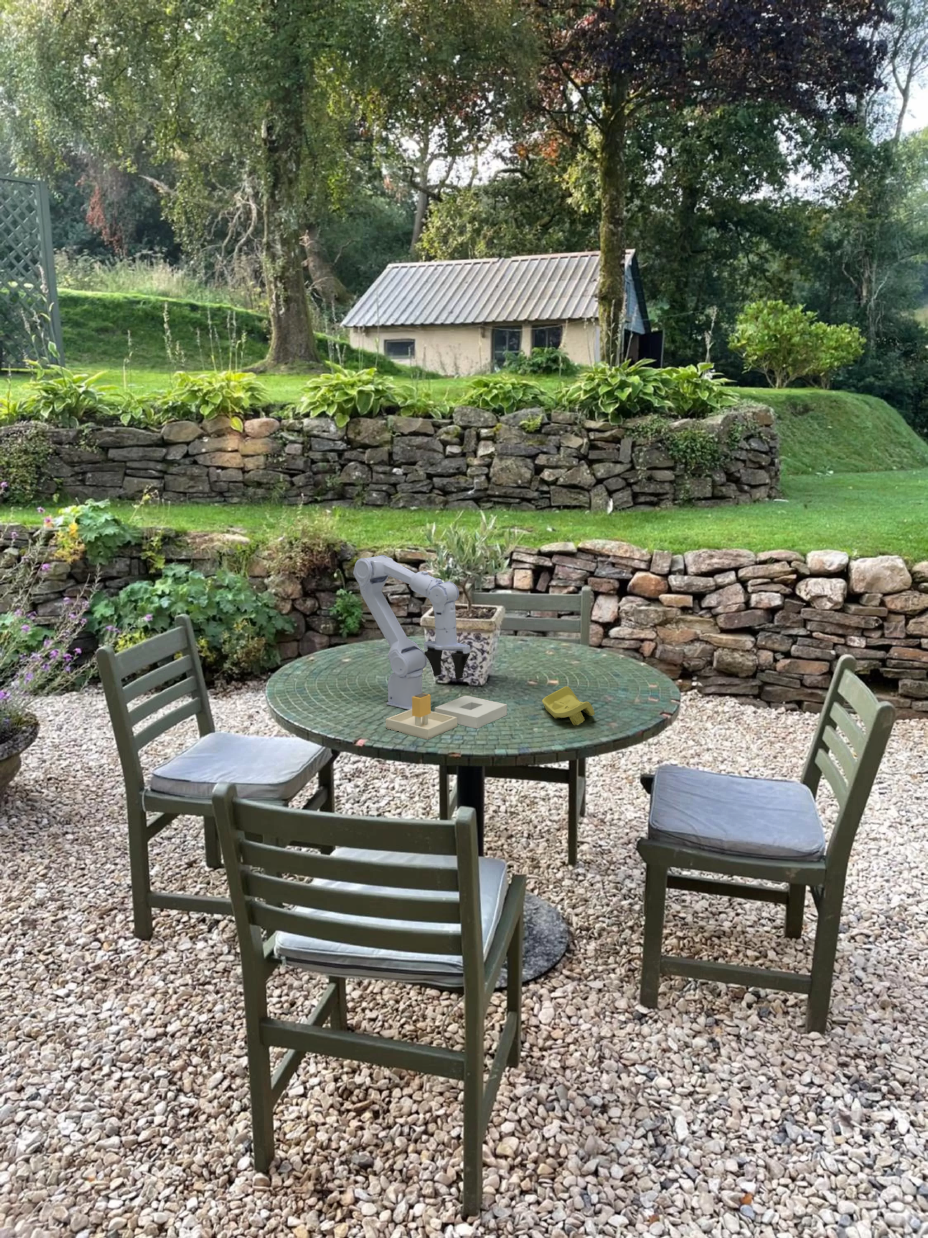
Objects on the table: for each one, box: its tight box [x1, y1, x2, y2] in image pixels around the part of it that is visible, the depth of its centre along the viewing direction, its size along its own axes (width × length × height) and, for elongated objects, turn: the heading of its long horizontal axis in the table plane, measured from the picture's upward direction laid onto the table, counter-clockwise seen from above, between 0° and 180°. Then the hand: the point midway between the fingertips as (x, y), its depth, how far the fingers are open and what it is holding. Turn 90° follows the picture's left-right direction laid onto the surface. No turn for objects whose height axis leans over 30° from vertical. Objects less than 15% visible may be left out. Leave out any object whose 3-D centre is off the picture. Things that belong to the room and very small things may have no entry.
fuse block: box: [434, 695, 508, 729], centre depth 223 cm, size 14×14×3 cm
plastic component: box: [541, 686, 596, 726], centre depth 222 cm, size 20×7×10 cm
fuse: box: [412, 692, 432, 727], centre depth 213 cm, size 3×4×8 cm, turn 144°
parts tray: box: [385, 709, 458, 740], centre depth 214 cm, size 14×12×3 cm
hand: (448, 676), depth 224 cm, fingers open, 7 cm apart
